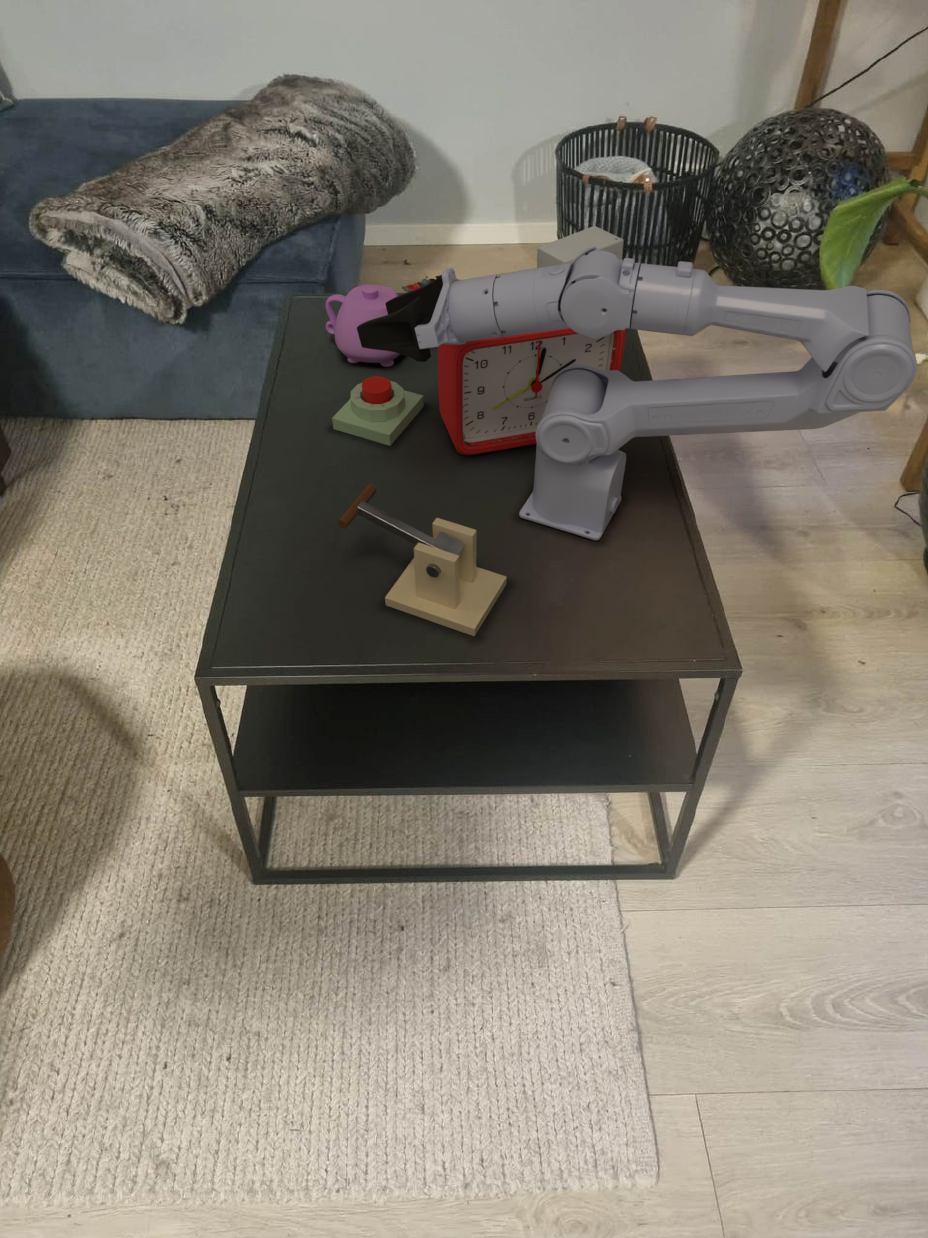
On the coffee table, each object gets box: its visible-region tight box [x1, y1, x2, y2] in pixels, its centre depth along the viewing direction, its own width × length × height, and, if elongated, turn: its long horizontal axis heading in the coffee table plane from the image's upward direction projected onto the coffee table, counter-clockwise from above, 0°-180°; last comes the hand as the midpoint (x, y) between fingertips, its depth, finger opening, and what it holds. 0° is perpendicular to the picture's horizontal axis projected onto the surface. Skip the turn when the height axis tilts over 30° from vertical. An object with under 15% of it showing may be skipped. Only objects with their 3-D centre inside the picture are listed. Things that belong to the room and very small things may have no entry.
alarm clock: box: [437, 328, 627, 456], centre depth 109 cm, size 10×20×16 cm, turn 105°
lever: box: [337, 483, 465, 561], centre depth 92 cm, size 12×6×2 cm, turn 65°
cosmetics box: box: [536, 225, 625, 268], centre depth 129 cm, size 10×6×10 cm, turn 126°
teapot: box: [325, 283, 401, 368], centre depth 123 cm, size 10×15×9 cm
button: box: [361, 375, 392, 404], centre depth 113 cm, size 4×4×2 cm
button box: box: [331, 380, 425, 447], centre depth 115 cm, size 8×9×4 cm
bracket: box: [384, 517, 508, 637], centre depth 93 cm, size 10×8×8 cm
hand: (374, 323), depth 94 cm, fingers open, 7 cm apart
